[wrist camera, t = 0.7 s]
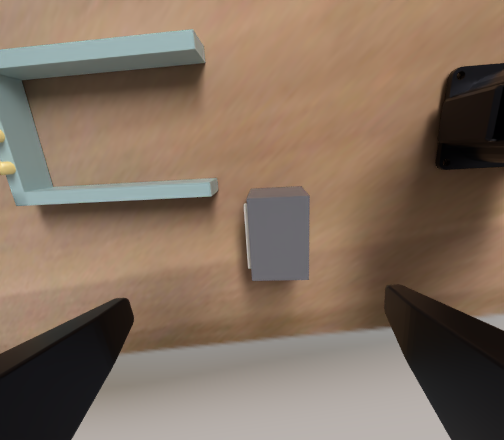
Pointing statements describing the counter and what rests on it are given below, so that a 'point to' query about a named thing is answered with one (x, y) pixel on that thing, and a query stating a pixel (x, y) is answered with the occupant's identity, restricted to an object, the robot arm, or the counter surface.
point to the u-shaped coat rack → (78, 63)
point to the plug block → (277, 233)
